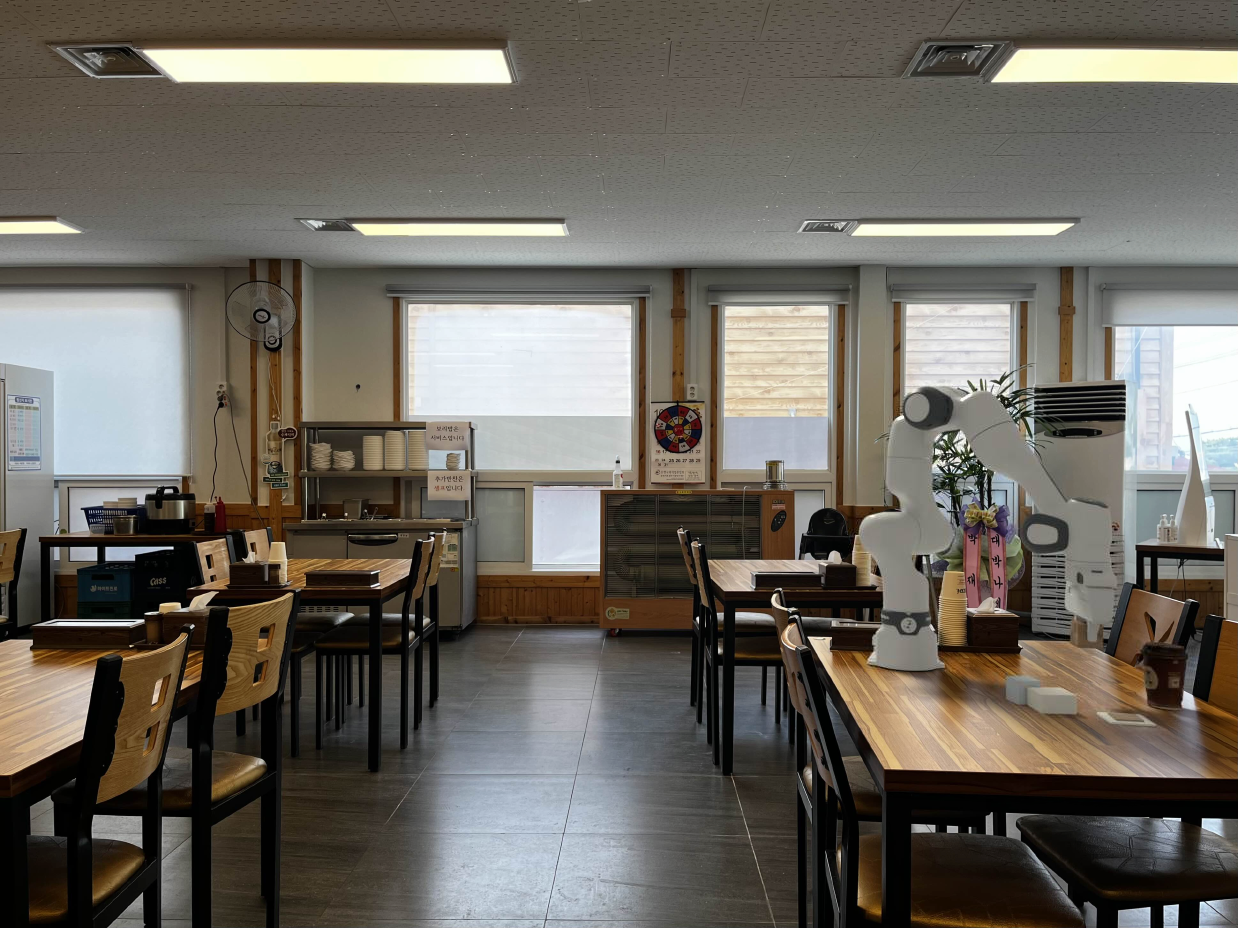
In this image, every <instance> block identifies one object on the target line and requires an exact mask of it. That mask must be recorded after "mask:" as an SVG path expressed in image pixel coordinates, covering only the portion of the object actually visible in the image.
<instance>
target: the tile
mask: <svg viewBox="0 0 1238 928" xmlns="http://www.w3.org/2000/svg"><path fill="white" fill-rule="evenodd" d="M1096 715H1098V716H1099V717H1100V718H1101V719H1103V720H1104V721H1106V722H1107V723H1108V724H1110V725H1117V726H1118V725H1121V726H1135V727H1136V726H1139V727H1157V724H1156V723H1154V722H1153V721H1151V720H1150V719H1148V718H1147V717H1145V716H1144V715H1142V714H1140V713H1121V712H1107V711H1106V712H1102V711H1097V712H1096Z"/></svg>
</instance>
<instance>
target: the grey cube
mask: <svg viewBox="0 0 1238 928" xmlns="http://www.w3.org/2000/svg"><path fill="white" fill-rule="evenodd" d="M1027 687H1042V680H1041V679H1040V680H1039V679H1037V678H1035V677H1032V676H1030V675H1018V676H1017V675H1014V676H1013V675H1006V676H1005V694H1006V695H1005V700H1007V701H1010V702H1012V703H1014V704H1016V705H1020V706H1021V705H1022V706H1023V705H1026V706H1028V705H1027Z"/></svg>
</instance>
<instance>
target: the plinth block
mask: <svg viewBox="0 0 1238 928" xmlns="http://www.w3.org/2000/svg"><path fill="white" fill-rule="evenodd" d="M1026 706H1028V707H1029V708H1032V709H1033V710H1035V711H1037V712H1038V713H1040V714H1043V715H1044V714H1046V715H1048V714H1049V715H1050V714H1051V715H1052V714H1053V715H1078V695H1077V694H1075V693H1073V692H1071V691H1068V690H1067V689H1064V688H1063V687H1047V686H1045V687H1044V686H1043V687H1042V686H1041V687H1027V705H1026Z"/></svg>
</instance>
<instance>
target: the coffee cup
mask: <svg viewBox="0 0 1238 928" xmlns="http://www.w3.org/2000/svg"><path fill="white" fill-rule="evenodd" d="M1139 652H1140V653H1141V654H1142V655H1143V661H1142V667H1143V678H1144V688H1145V692H1146V702H1147V703H1146V704H1147V705H1148V706H1151V707H1153V708H1157V709H1162V710H1168V711H1181V710H1182V709H1183V705H1182V702H1183V700H1184V691H1185V688H1184V687H1185V679H1186V671H1187V661H1188V660H1189V658H1190V657H1189V654H1188V653H1187V652H1186V650H1185V647H1184V646H1183V645H1182V646H1181V645H1178V644H1171V643H1167V642H1159V641H1158V642H1157V641H1147V642H1145V644H1143V646H1142V648H1141V649H1140V650H1139Z"/></svg>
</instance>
